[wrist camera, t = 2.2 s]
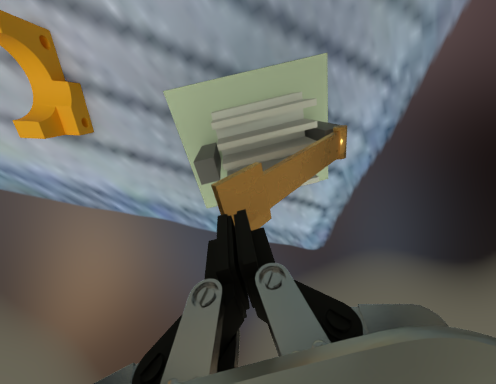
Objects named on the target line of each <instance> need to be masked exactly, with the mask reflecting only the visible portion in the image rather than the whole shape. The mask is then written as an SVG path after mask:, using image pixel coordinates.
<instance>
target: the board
mask: <svg viewBox="0 0 496 384" xmlns="http://www.w3.org/2000/svg"><path fill="white" fill-rule="evenodd" d="M163 92H164V95H165V98H166V100H167V103H168V106H169V108H170V111H171V114H172V116H173V119H174V122H175V124H176V127H177V130H178V133H179V135H180V138H181V141H182V143H183V146H184V149H185V151H186V154H187V157H188V159H189V162H190V165H191V167H192V170H193V173H194V175H195V178H196V181H197V183H198V186H199V189H200V192H201V194H202V197H203V200H204V202H205V205H206V208H211V207H215V206H218V204H217V201H216V198H215V196H214V193H213V190H212V187H211V184H213V183H215V182H217V181H219V180H221V179H223V178H225V177H227V176H229V175H231V174H233V173H235V172H237V171H239V170H241V169H243V168H245V167H247V166H249V165H251V164H253V163H255V162H259V163H261V164H262V169H263V171H265V170H266V169H268V168H270V167H272V166H273V165H275V164H277V163H279V162H281V161H282V160H284V159H286V158H288V157H289V156H291V155H293V154H295V153H297V152H298V151H300V150H302V149H304V148H305V147H307V146H309V145H311V144H312V143H314V142H316V141H318V140H320V139H321V138H323V137H325V136H327V135H328V134H330V133H332V132H333V127H335V126H339V125H337V124H332V123H328V93H327V53H324V54H320V55H316V56H311V57H307V58H303V59H299V60H294V61H290V62H286V63H282V64H277V65H273V66H269V67H265V68H260V69H256V70H252V71H248V72H243V73H239V74H235V75H231V76H226V77H222V78H218V79H213V80H209V81H205V82H201V83H196V84H192V85H188V86H184V87H179V88H175V89H171V90H167V91H163ZM325 179H328V166H327V167H325V168H324V169H322V170H321V171H320V172H318V173H317V174H316V175H314V176H313V177H312V178H310V179H309V180H308V181H306V182H305V183H304V184H302V185H301V186H303V185H308V184H312V183H316V182H319V181H321V180H325Z"/></svg>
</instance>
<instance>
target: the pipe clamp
mask: <svg viewBox="0 0 496 384" xmlns="http://www.w3.org/2000/svg"><path fill="white" fill-rule="evenodd" d="M0 45H1V46H2V47H3V48H4V49H5V50H7V51H8V52H9V53H10V54H11V55H12V56H13V57H14V58H15V59H16V61H17V62H18V63H19V64H20V66H21V67H22V69H23V70H24V72H25V73H26V75H27V77H28V79H29V81H30V84H31V87H32V91H33V105H32V108H31V110H30V112H29V113H28V114H27V115H26V116H24V117H23V118H20V119H17V120H12V121H13V123H14V125H15V127H16V129H17V131H18V134H19V136H20V138H40V139H46V138H51V137H56V136H61V135H84V134H88V133H93V132H94V130H93V127H92V124H91V120H90V117H89V113H88V110H87V106H86V103H85V99H84V96H83V92H82V89H81V85H80V83H72V82H66V81H65V78H64V75H63V72H62V69H61V66H60V62H59V59H58V56H57V53H56V50H55V46H54V43H53V40H52V37H51V34H50V31H49V30H47V29H45V28H42V27H40V26H37V25H35V24H33V23H30V22H28V21H25V20H23V19H21V18H18V17H16V16H13V15H11V14H9V13H6V12H4V11H1V10H0Z"/></svg>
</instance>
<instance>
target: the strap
mask: <svg viewBox="0 0 496 384" xmlns="http://www.w3.org/2000/svg"><path fill="white" fill-rule="evenodd" d="M346 142H347V125H339V126H335V127H333V132H332V133H330V134H328V135H327V136H325V137H323V138H321V139H320V140H318V141H316V142H314V143H312V144H311V145H309V146H307V147H305V148H304V149H302V150H300V151H298V152H297V153H295V154H293V155H291V156H289V157H288V158H286V159H284V160H282V161H281V162H279V163H277V164H275V165H273V166H272V167H270V168H268V169H266V170H265V171H263V169H262V164H261V163H259V162H255V163H253V164H251V165H249V166H247V167H245V168H243V169H241V170H239V171H237V172H235V173H233V174H231V175H229V176H227V177H225V178H223V179H221V180H219V181H217V182H215V183H213V184H211V187H212V190H213V193H214V196H215V198H216V201H217V204H218V207H219V210H220V213H221V215H224V214H228V216H230V215H231V216H232V219H233V222H234V214H237V211H240V210H244V209H246V213H247V216H248V220H249V224H250V228H251V230H255V229H259V228H260V227H261V226H262V225H264V224H265V223H266V222H268V221H269V220H270V219H271V213H270V208H271V207H273V206H274V205H275V204H277V203H278V202H279V201H281V200H282V199H283V198H285V197H286V196H287V195H289V194H290V193H291V192H293V191H294V190H295V189H297V188H298V187H300V186H301V185H302V184H304V183H305V182H306V181H308V180H309V179H310V178H312V177H313V176H314V175H316V174H317V173H318V172H320V171H321V170H322V169H324V168H325V167H327V166H328V165H329V164H331V163H332V162H333V161H335V160H336V159H344V158H346ZM234 226H235V223H234Z"/></svg>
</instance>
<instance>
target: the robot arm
mask: <svg viewBox="0 0 496 384" xmlns="http://www.w3.org/2000/svg"><path fill="white" fill-rule="evenodd" d="M234 223H235V226H234ZM248 295H249V298H250V301H251V304H252V307H253V308H255V310H256V313H257V316H258V317H259V318H260V319H261V320H263V321H264V322H266V323H267V324H268V327H269V330H270V333H271V336H272V339H273V341H274V344H275V347H276V350H277V353H278V356H279V357H276V358H272V359H268V360H264V361H261V362H257V363H253V364H249V365H245V366H241V367H238V362H239V344H240V326H241V325H242V323H243V321H244V318H246V317H247V315H246V310H247V309H249V300H248ZM94 384H496V338H495V337H492V336H489V335H485V334H482V333H478V332H474V331H470V330H464V329H460V328H455V327H449V326H448V325H447V324H446V323H445V321H444V320H443V319H442V318H441V317H440V316H439V315H437V314H436V313H434V312H433V311H431V310H430V309H428V308H425V307H423V306H421V305H414V304H358V307H349V306H348V305H346V304H344V303H342V302H340V301H338V300H336V299H334V298H332V297H330V296H327V295H325V294H323V293H321V292H319V291H317V290H314V289H313V288H311V287H308V286H306V285H304V284H302V283H300V282H298V281H296V280H293V278H292V277H291V275H290V273H289V272H288V270H287V269H286V268H285V267H284V266H282V265H281V264H278V263H275V261H274V258H273V255H272V252H271V249H270V246H269V242H268V239H267V236H266V233H265V230H264V228H259V229H255V230H251V228H250V224H249V220H248V216H247V213H246V209H244V210H240V211H237V214H234V222H233V219H232V216H231V215H230V216H228V214H224V215H220V216H218V222H217V239H215V240H211V241H209V243H208V252H207V262H206V270H205V280H203V281H201V282H199V283H198V284H197V285H195V287H194V288H193V289H192V290H191V293H190V294H189V296H188V299H187V303H186V306H185V309H184V312H183V314H182V316H180V317H179V319H178V320H177V321H176V322H175V323H174V324H173V325H172V326H171V327H170V328H169V329H168V330H167V332H166V333H165V334H164V335H163V336H162V337H161V338H160V339H159V340H158V342H157V343H156V344H155V345H154V346H153V347H152V348H151V349H150V350H149V351H148V352H147V353H146V354H145V356H144V357H143V358H142V360H141V361H140V363H138V364H135V363H132V364H130V365H128V366H126V367H124V368H122V369H121V370H119V371H117V372H115V373H113V374H111V375H109V376H107V377H105V378H103V379H101V380H100V381H98V382H96V383H94Z"/></svg>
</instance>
